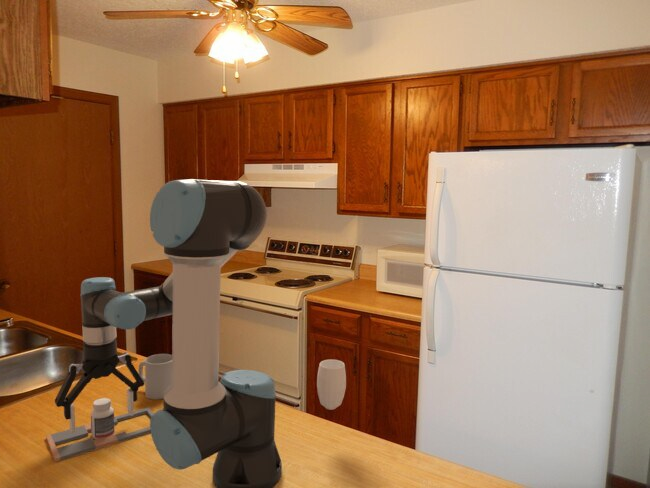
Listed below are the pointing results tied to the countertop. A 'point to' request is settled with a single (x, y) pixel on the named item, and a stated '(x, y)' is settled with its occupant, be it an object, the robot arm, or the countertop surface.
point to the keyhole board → (89, 444)
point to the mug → (156, 375)
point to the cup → (331, 383)
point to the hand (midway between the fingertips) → (102, 421)
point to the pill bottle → (102, 419)
